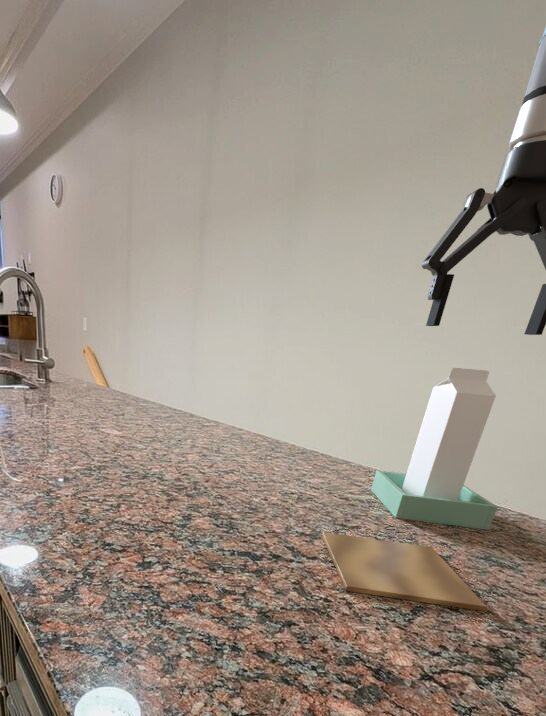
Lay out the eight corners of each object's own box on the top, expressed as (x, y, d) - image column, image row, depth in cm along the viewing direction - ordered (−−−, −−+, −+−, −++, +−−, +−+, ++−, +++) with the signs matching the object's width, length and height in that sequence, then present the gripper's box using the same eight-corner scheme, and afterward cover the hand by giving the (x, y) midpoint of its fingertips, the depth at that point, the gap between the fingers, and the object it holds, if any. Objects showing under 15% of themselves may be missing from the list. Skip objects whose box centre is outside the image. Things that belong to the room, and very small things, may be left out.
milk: (398, 499, 77) (438, 365, 69) (431, 501, 78) (475, 369, 69) (418, 512, 72) (464, 369, 63) (454, 514, 72) (504, 372, 64)
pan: (448, 499, 80) (456, 479, 79) (488, 530, 68) (498, 506, 66) (370, 489, 82) (376, 469, 80) (395, 517, 69) (402, 495, 68)
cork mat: (430, 550, 59) (431, 546, 59) (485, 611, 46) (487, 606, 46) (321, 536, 60) (322, 532, 60) (345, 590, 47) (346, 586, 47)
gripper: (451, 130, 54) (400, 321, 62) (680, 140, 51) (595, 338, 59) (426, 153, 61) (383, 322, 69) (627, 163, 58) (558, 338, 66)
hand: (481, 330), depth 64 cm, fingers open, 13 cm apart
